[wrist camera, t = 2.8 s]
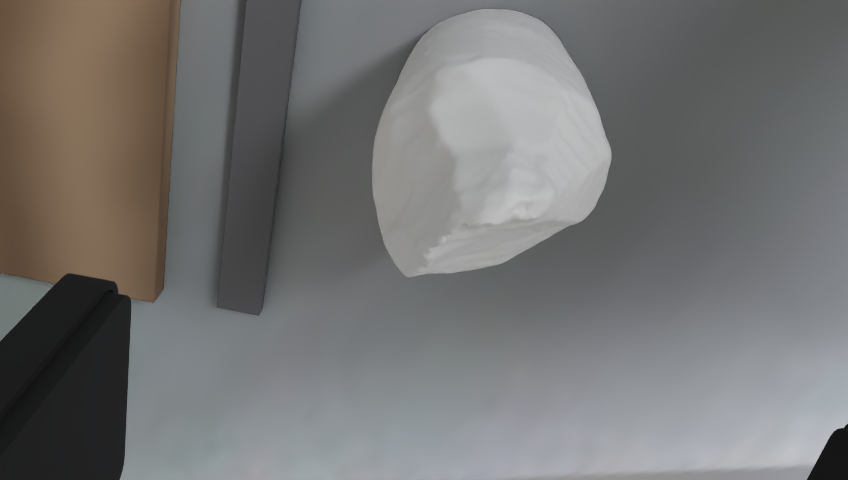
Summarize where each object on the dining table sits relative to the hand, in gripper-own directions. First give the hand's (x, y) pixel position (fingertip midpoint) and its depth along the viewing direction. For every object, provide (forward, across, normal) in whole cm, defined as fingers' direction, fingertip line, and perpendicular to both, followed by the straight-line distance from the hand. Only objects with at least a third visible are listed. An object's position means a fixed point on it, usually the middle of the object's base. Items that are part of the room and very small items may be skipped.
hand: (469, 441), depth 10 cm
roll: (+17, -1, -1) cm, 17 cm away
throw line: (+17, +6, -1) cm, 18 cm away
